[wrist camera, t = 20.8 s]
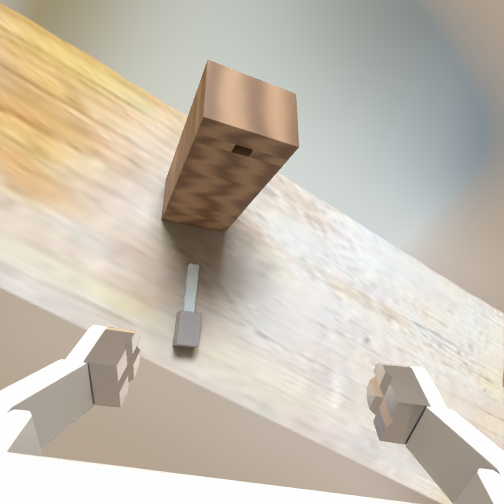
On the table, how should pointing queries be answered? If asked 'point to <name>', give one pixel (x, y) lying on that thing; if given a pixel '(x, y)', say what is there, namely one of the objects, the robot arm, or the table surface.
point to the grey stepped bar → (189, 313)
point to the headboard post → (229, 147)
